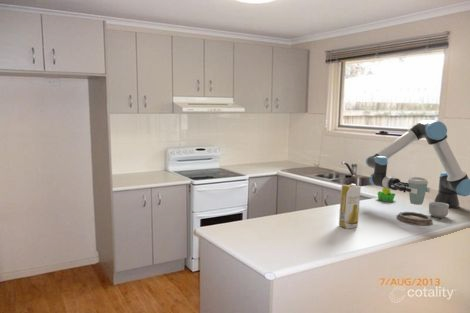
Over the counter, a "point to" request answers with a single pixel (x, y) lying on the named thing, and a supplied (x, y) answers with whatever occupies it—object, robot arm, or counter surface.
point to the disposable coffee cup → (421, 189)
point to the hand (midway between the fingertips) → (423, 190)
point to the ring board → (414, 218)
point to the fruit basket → (386, 195)
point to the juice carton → (349, 206)
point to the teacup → (438, 209)
